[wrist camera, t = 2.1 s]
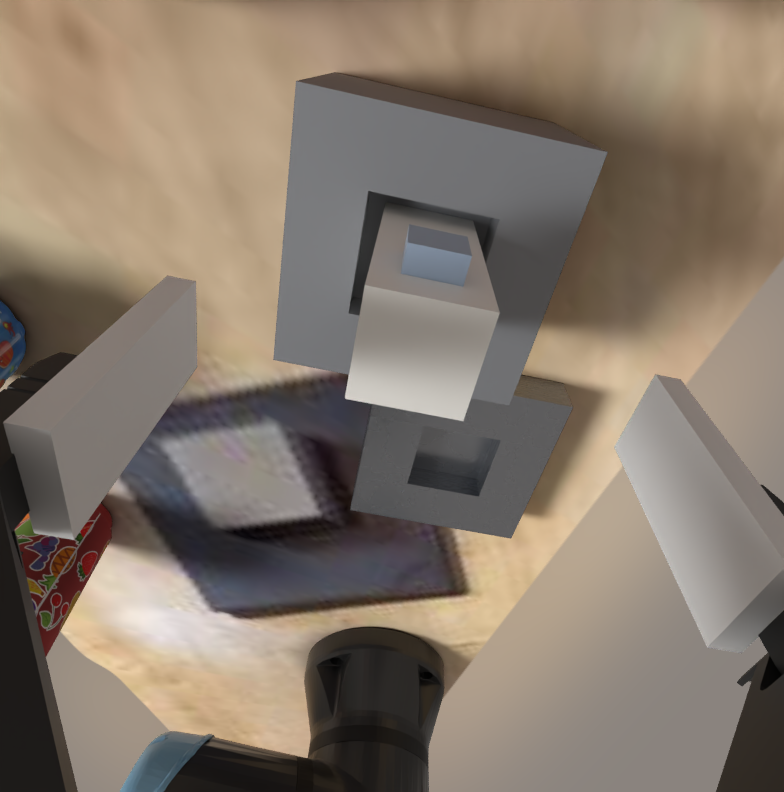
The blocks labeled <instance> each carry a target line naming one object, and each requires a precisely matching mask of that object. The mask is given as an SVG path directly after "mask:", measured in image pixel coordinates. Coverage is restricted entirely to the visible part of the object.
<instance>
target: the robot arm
mask: <svg viewBox="0 0 784 792" xmlns="http://www.w3.org/2000/svg"><path fill="white" fill-rule="evenodd" d="M196 368H197V322H196V281H192V280H187V279H182V278H177V277H172V276H166V277H165V278H164V279H163V280H162V281H161V282H160V283H159V284H157V285H156V286H155V287H154V288H153V289H152V290H151V291H150V292H148V293H147V294H146V295H145V296H144V297H143V298H142V299H141V300H139V301H138V302H137V303H136V304H135V305H134V306H133V307H132V308H131V309H129V310H128V311H127V312H126V313H125V314H124V315H123V316H122V317H120V318H119V319H118V320H117V321H116V322H115V323H114V324H113V325H112V326H110V327H109V328H108V329H107V330H106V331H105V332H104V333H103V334H101V335H100V336H99V337H98V338H97V339H96V340H95V341H94V342H92V343H91V344H90V345H89V346H88V347H87V348H86V349H85V350H84V351H82V352H81V353H80V354H79V355H72V354H67V353H62V352H60V353H58V354H56V355H53V356H51V357H48V358H46V359H44V360H41V361H39V362H37V363H36V364H34V365H33V366H32V367H31V368H29V369H28V370H27V371H26V372H25V373H23V374H22V375H21V378H17V379H16V380H15V381H14V382H12V383H11V384H10V385H9V386H8V388H7V390H6V389H4V390H3V391H1V392H0V792H78V791H77V787H76V782H75V778H74V774H73V770H72V766H71V761H70V757H69V753H68V749H67V745H66V740H65V736H64V732H63V728H62V724H61V720H60V715H59V711H58V707H57V703H56V698H55V695H54V690H53V686H52V682H51V677H50V673H49V669H48V665H47V661H46V657H45V652H44V648H43V644H42V640H41V636H40V631H39V627H38V623H37V619H36V615H35V610H34V606H33V602H32V598H31V594H30V589H29V585H28V581H27V577H26V573H25V568H24V564H23V560H22V556H21V552H20V547H19V543H18V539H17V536H16V533H15V528H16V527H17V526H18V524H19V523H20V522H21V521H22V520H23V519H24V517H25V516H26V515H27V514H28V513H29V517H30V520H31V524H32V528H33V531H34V533H36V534H42V535H48V536H54V537H60V538H65V539H71V540H74V539H75V538H76V537H77V535H78V534H79V532H80V531H81V530H82V528H83V527H84V525H85V524H86V523H87V521H88V520H89V518H90V517H91V516H92V514H93V513H94V511H95V510H96V509H97V507H98V506H99V504H100V503H101V501H102V500H103V499H104V497H105V496H106V494H107V493H108V492H109V490H110V489H111V487H112V486H113V485H114V483H115V482H116V480H117V479H118V478H119V476H120V475H121V473H122V472H123V471H124V469H125V468H126V466H127V465H128V464H129V462H130V461H131V459H132V458H133V456H134V455H135V454H136V452H137V451H138V449H139V448H140V447H141V445H142V444H143V442H144V441H145V440H146V438H147V437H148V435H149V434H150V433H151V431H152V430H153V428H154V427H155V426H156V424H157V423H158V421H159V420H160V419H161V417H162V416H163V414H164V413H165V411H166V410H167V409H168V407H169V406H170V404H171V403H172V402H173V400H174V399H175V397H176V396H177V395H178V393H179V392H180V390H181V389H182V388H183V386H184V385H185V383H186V382H187V381H188V379H189V378H190V376H191V375H192V373H193V372H194V371H195V369H196ZM614 448H615V450H616V452H617V454H618V456H619V458H620V460H621V463H622V465H623V467H624V469H625V471H626V473H627V476H628V478H629V480H630V482H631V484H632V486H633V488H634V491H635V493H636V495H637V497H638V499H639V501H640V504H641V506H642V508H643V510H644V512H645V514H646V516H647V519H648V521H649V523H650V525H651V527H652V529H653V531H654V534H655V536H656V538H657V540H658V542H659V544H660V546H661V549H662V551H663V553H664V555H665V557H666V559H667V562H668V564H669V566H670V568H671V570H672V572H673V575H674V577H675V579H676V581H677V583H678V585H679V587H680V590H681V592H682V594H683V596H684V598H685V600H686V602H687V605H688V607H689V609H690V611H691V613H692V615H693V618H694V620H695V622H696V624H697V626H698V628H699V631H700V632H701V635H702V637H703V639H704V641H705V643H706V646H707V647H708V648H714V649H720V650H725V651H732V652H738V653H742V652H743V651H744V650H745V649H746V648H747V647H748V646H749V645H750V644H752V642H754V641H755V640H756V639H757V638H758V637H760V639H761V640H762V643H763V644H764V646H765V648H766V650H767V651H768V653H767V654H766V655H765V656H764V657H763V658H762V659H761V660H759V661H758V662H757V663H756V664H755V665H754V666H753V667H752V668H751V669H750V670H748V671H747V672H746V673H745V674H744V675H743V676H742V677H741V678H740V679H739V680H738V682H737V683H738V684H740V685H741V686H743V685H744V684H745V683H746V682H748V681H752V682H751V685H750V689H749V691H748V694H747V698H746V701H745V704H744V707H743V710H742V713H741V716H740V719H739V722H738V725H737V729H736V732H735V735H734V738H733V741H732V744H731V747H730V750H729V753H728V757H727V760H726V763H725V766H724V769H723V772H722V775H721V778H720V781H719V784H718V787H717V790H716V792H784V503H783V502H782V501H781V500H780V499H779V498H778V497H776V496H775V495H774V494H773V493H772V492H770V491H769V490H768V489H767V488H766V487H765V486H763V485H760V484H759V483H758V482H757V480H756V479H755V477H754V476H753V475H752V473H751V472H750V471H749V469H748V468H747V467H746V465H745V464H744V463H743V461H742V460H741V459H740V457H739V456H738V455H737V453H736V452H735V451H734V449H733V448H732V447H731V446H730V444H729V443H728V442H727V440H726V439H725V438H724V436H723V435H722V434H721V432H720V431H719V430H718V428H717V427H716V426H715V425H714V423H713V422H712V421H711V419H710V418H709V416H708V415H707V414H706V413H705V411H704V410H703V408H702V407H701V406H700V404H699V403H698V402H697V401H696V399H695V398H694V397H693V395H692V394H691V393H690V391H689V390H688V389H687V388H686V386H685V385H684V383H683V382H682V381H681V379H676V378H671V377H666V376H661V375H656V374H655V376H654V378H653V379H652V381H651V383H650V385H649V386H648V388H647V390H646V392H645V394H644V395H643V397H642V399H641V401H640V402H639V404H638V406H637V408H636V410H635V411H634V413H633V415H632V417H631V418H630V420H629V422H628V424H627V425H626V427H625V429H624V431H623V433H622V434H621V436H620V438H619V440H618V441H617V443H616V445H615V447H614ZM304 682H305V692H306V700H307V708H308V716H309V725H310V733H311V740H310V747H309V753H308V758H303V757H298V756H295V755H290V754H286V753H281V752H276V751H272V750H267V749H262V748H258V747H253V746H249V745H245V744H240V743H236V742H232V741H228V740H224V739H219V738H215V736H214V735H212V734H208V735H205V736H203V735H196V734H189V733H183V732H176V731H171V732H167V733H164V734H161V735H160V736H158V737H157V738H155V739H154V740H153V741H152V742H151V743H150V744H149V745H148V747H147V748H146V749H145V751H144V752H143V753H142V755H141V756H140V758H139V759H138V761H137V763H136V764H135V766H134V768H133V769H132V771H131V772H130V774H129V776H128V778H127V780H126V781H125V783H124V785H123V787H122V788H121V790H120V792H429V782H428V781H429V775H428V773H429V772H428V748H429V743H430V740H431V736H432V733H433V729H434V726H435V722H436V718H437V715H438V712H439V708H440V705H441V701H442V698H443V694H444V666H443V662H442V660H441V658H440V656H439V655H438V654H437V653H436V651H435V650H434V649H433V648H431V647H430V646H429V645H427V644H426V643H425V642H423V641H421V640H419V639H417V638H415V637H413V636H410V635H408V634H405V633H401V632H398V631H393V630H388V629H380V628H357V629H350V630H345V631H341V632H337V633H334V634H332V635H329V636H327V637H325V638H324V639H322V640H321V641H319V642H318V643H317V644H316V645H315V646H314V647H313V648H312V650H311V651H310V653H309V656H308V661H307V666H306V671H305V680H304Z"/></svg>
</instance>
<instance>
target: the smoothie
mask: <svg viewBox="0 0 784 792" xmlns="http://www.w3.org/2000/svg"><path fill="white" fill-rule="evenodd" d="M111 527H112V518H111V515H110V513H109V511H108V510H107V509H106V508H105V507H104V506H103V505H102V504H101V503H100V504H99V506H98V507H97V509H96V510H95V511H94V513H93V514H92V516H91V517H90V518H89V520H88V521H87V523H86V524H85V525H84V527H83V528H82V530H81V531H80V532H79V534H78V535H77V537H76V538H75V539H74V540H71V539H65V538H60V537H54V536H48V535H42V534H36V533H34V531H33V528H32V524H31V520H30V517H29V513H28V514H27V515H26V516H25V517H24V519H23V520H22V521H21V522H20V523H19V524H18V526H17V527H16V528H15V533H16V536H17V539H18V543H19V547H20V552H21V556H22V560H23V564H24V568H25V573H26V577H27V581H28V585H29V589H30V594H31V598H32V602H33V606H34V610H35V615H36V619H37V623H38V627H39V631H40V636H41V640H42V644H43V648H44V652H45V657H46V656H47V654H48V652H49V650H50V649H51V647H52V645H53V643H54V641H55V639H56V637H57V636H58V634H59V632H60V630H61V629H62V627H63V625H64V623H65V621H66V620H67V618H68V616H69V614H70V612H71V610H72V609H73V607H74V605H75V603H76V601H77V600H78V598H79V596H80V594H81V592H82V591H83V589H84V587H85V585H86V583H87V581H88V580H89V578H90V576H91V574H92V572H93V571H94V569H95V567H96V565H97V563H98V561H99V560H100V558H101V556H102V554H103V552H104V551H105V549H106V547H107V545H108V544H109V542H110V540H111V538H112V533H111Z"/></svg>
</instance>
